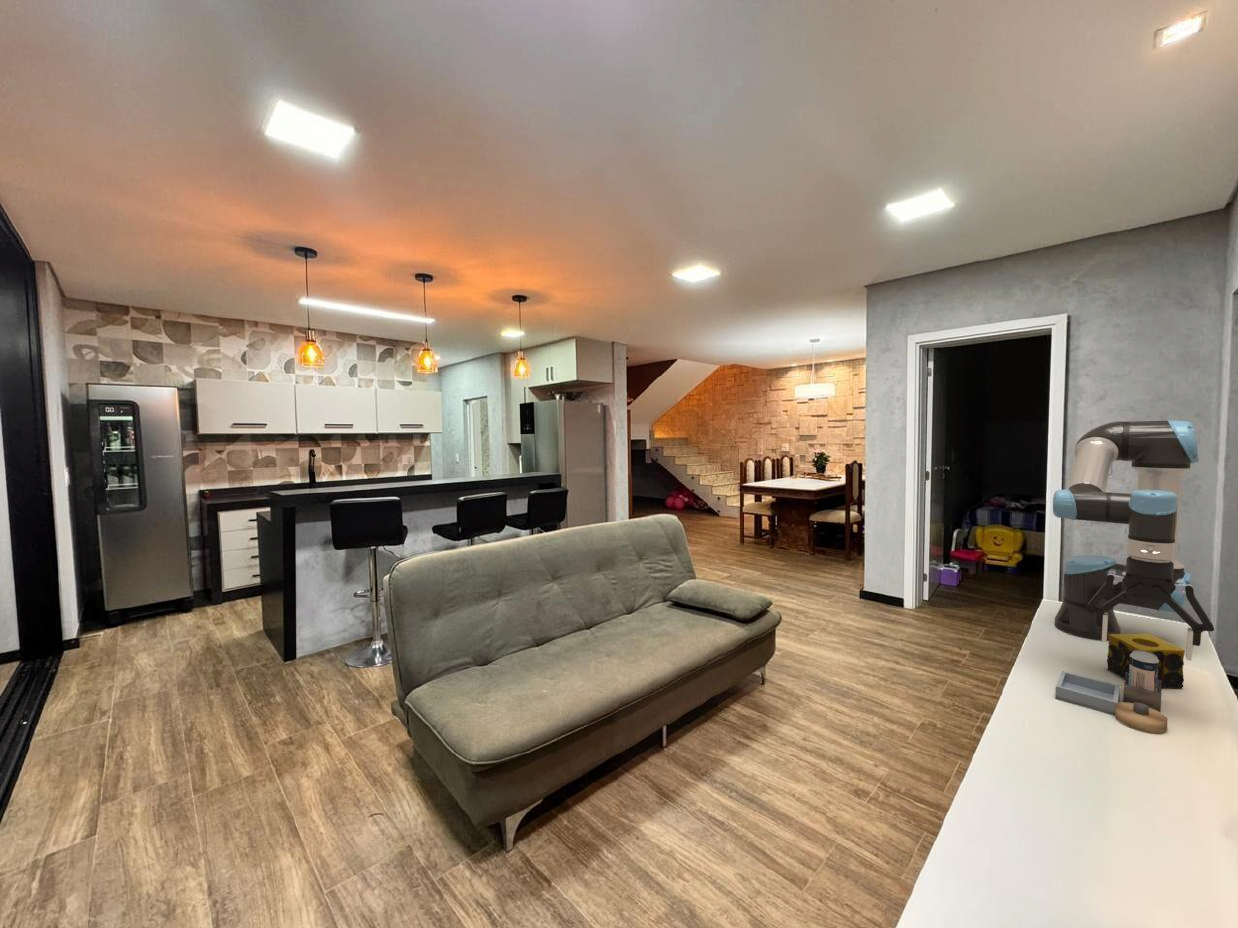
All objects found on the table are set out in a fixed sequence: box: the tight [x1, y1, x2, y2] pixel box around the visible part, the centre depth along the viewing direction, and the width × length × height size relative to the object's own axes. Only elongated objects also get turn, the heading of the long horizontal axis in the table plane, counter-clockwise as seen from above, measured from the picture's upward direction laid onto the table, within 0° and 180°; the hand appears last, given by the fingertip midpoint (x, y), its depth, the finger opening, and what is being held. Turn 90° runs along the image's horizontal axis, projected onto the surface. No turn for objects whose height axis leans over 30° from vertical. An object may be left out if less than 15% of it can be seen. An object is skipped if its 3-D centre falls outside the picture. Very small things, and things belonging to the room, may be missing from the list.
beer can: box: [1129, 650, 1159, 692], centre depth 120 cm, size 5×5×12 cm
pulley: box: [1114, 701, 1168, 735], centre depth 113 cm, size 8×8×4 cm
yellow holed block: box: [1106, 633, 1186, 690], centre depth 131 cm, size 10×10×10 cm
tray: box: [1055, 670, 1121, 716], centre depth 123 cm, size 11×11×3 cm
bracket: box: [1122, 672, 1162, 713], centre depth 120 cm, size 9×6×5 cm, turn 134°
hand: (1144, 649), depth 119 cm, fingers open, 13 cm apart
